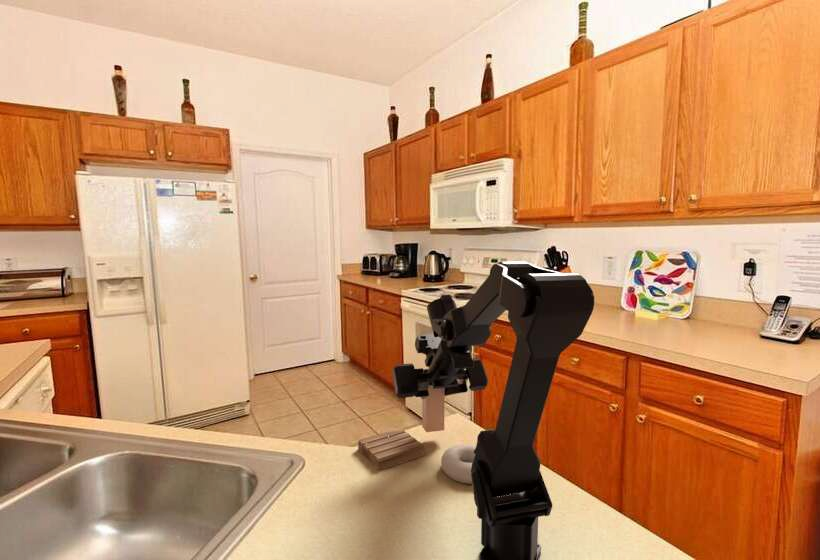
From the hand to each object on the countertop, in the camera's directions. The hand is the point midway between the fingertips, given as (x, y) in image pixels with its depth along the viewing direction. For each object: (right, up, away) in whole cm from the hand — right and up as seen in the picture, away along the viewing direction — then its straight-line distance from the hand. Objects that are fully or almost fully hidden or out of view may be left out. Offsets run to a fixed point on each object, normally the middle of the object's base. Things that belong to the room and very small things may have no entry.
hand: (431, 395), depth 86 cm
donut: (+6, -11, -12) cm, 17 cm away
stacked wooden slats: (-8, -10, -6) cm, 14 cm away
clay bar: (0, -7, -1) cm, 7 cm away
